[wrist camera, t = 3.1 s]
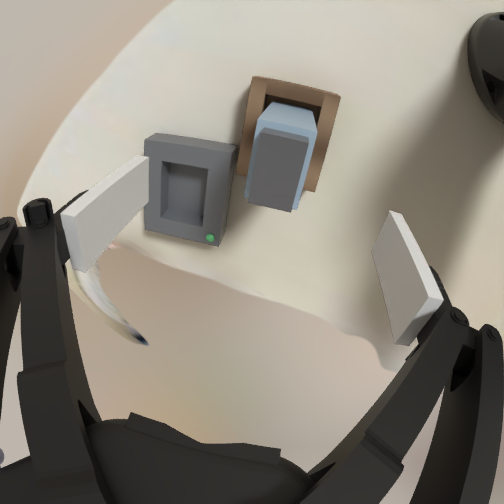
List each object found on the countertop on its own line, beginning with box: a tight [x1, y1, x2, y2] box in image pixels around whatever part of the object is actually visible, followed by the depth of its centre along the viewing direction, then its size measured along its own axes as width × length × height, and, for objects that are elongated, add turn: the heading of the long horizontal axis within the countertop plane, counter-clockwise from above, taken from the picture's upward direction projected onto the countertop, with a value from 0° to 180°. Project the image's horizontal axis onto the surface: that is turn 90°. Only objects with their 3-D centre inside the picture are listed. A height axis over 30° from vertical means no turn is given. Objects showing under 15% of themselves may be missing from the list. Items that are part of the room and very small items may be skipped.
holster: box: [236, 76, 341, 192], centre depth 29 cm, size 10×8×3 cm
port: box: [144, 133, 237, 247], centre depth 34 cm, size 12×10×3 cm
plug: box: [244, 100, 318, 212], centre depth 24 cm, size 6×4×14 cm, turn 170°
